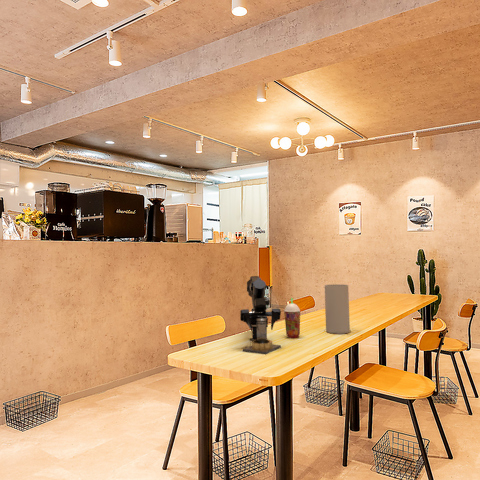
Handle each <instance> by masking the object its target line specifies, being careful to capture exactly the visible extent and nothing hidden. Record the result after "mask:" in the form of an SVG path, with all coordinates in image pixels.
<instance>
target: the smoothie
mask: <svg viewBox="0 0 480 480" xmlns="http://www.w3.org/2000/svg"><path fill="white" fill-rule="evenodd" d="M290 300H291V301H290V302H291V303H288V304H287V305H286V306H285V307H284V309H283V312H284V313H283V314H284V322H285V323H284V324H285V333H286V335H287V337H288V338H289V339H296V338H299V337H300V333H301V331H300V329H301V309H300V307H299V306H298V305H297V304H296V303H294V302H293V297H291V299H290Z"/></svg>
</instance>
